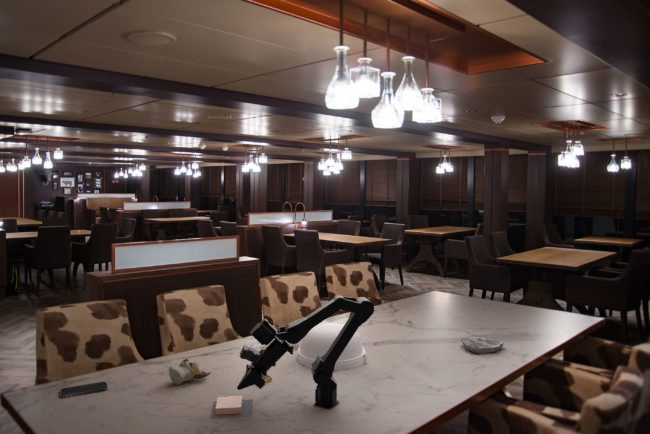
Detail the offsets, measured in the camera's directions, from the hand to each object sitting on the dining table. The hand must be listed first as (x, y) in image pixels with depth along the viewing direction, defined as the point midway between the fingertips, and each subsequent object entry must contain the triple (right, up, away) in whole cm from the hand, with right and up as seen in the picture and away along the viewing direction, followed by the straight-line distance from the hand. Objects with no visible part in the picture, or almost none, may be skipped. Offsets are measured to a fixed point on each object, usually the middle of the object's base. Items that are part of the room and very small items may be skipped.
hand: (237, 388), depth 164 cm
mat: (-2, -7, 0) cm, 7 cm away
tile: (+1, -5, +1) cm, 5 cm away
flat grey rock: (+100, -4, +66) cm, 120 cm away
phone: (-58, -6, +15) cm, 60 cm away
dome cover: (+31, -5, +52) cm, 61 cm away
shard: (+2, -6, +26) cm, 27 cm away
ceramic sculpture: (-23, -6, +25) cm, 35 cm away
